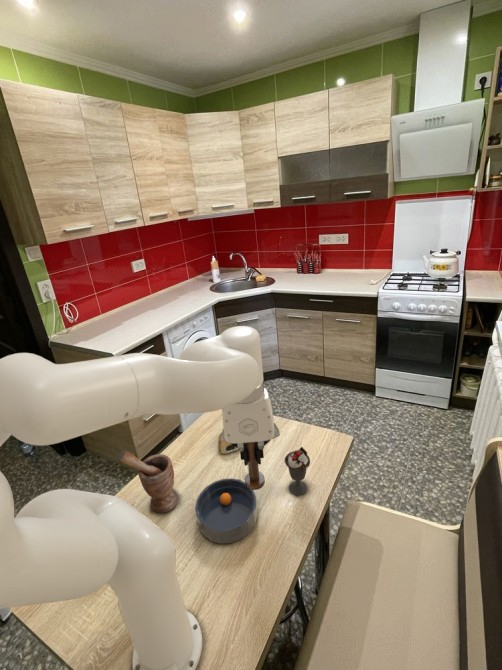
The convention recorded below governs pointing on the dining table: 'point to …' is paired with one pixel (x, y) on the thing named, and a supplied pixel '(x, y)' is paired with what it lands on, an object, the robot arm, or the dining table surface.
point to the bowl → (226, 511)
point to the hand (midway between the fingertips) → (252, 459)
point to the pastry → (226, 446)
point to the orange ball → (225, 499)
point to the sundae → (297, 470)
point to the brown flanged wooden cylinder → (253, 469)
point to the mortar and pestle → (155, 479)
